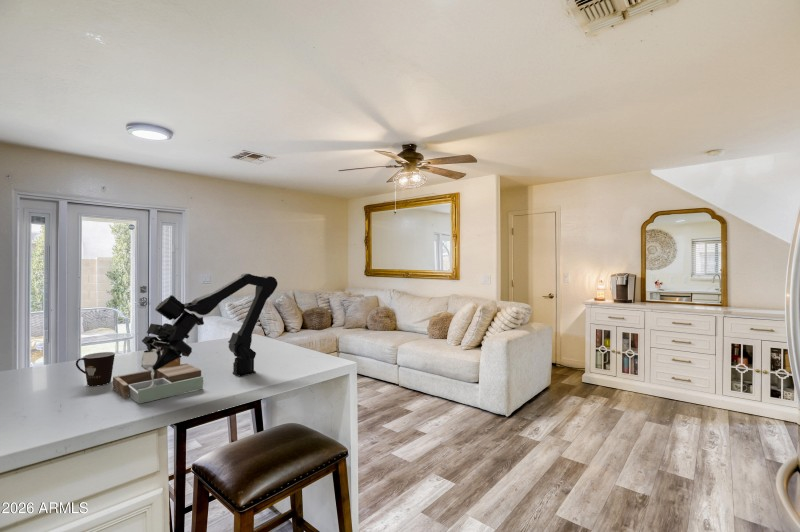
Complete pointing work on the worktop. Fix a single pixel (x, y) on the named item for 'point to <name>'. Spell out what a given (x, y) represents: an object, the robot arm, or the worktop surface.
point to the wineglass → (151, 361)
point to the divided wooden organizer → (155, 377)
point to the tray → (163, 389)
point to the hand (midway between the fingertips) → (148, 368)
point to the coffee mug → (98, 367)
